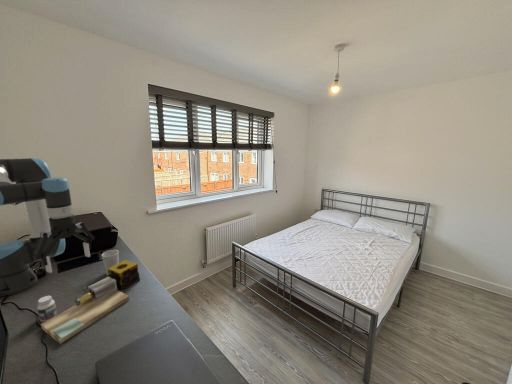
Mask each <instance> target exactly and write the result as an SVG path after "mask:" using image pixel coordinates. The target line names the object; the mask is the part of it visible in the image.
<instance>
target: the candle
mask: <svg viewBox="0 0 512 384" xmlns="http://www.w3.org/2000/svg"><path fill="white" fill-rule="evenodd" d="M107 276H108V277H111V278H113V279H115V280H116V285H117V290H118V291H125V290H126V289H128V288H129V287H131V286H132V285H134V284H136V283H138V282H139V281H140V280H141V278H140V273H139V264H138V263H136V262H132V261H129V260H128V259H124V260H123V261H121V262H120V261H119V263H118V264H116V265H114V266H112V267H110V268H108V275H107ZM137 281H138V282H137ZM135 282H136V283H135Z"/></svg>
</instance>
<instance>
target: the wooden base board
mask: <svg viewBox="0 0 512 384" xmlns="http://www.w3.org/2000/svg"><path fill="white" fill-rule="evenodd" d="M87 291H88V293H89V292H91V291H93V292H94V294H95V297H93V298H91V299H90V300H88V301H86V302H84V303H82V304H81V305H79V306H77V305H76V304H75V305H72V306H71V307H70V308H68V309H66V310H64V311H62V312H61V313H59V314H57V315H56V316H55V317H53V318H51V319H49V320H47V321H44V322H42V323H40V327H41V328H40V329H41V330H43V331H44V332H45V333H46V334H48V335H49V337H50V336H51V338H52V339H54V340H55V341H56V342H58V343H59V344H60V345H61V344H63V343H64V342H66V341H67V340H69V339H70V338H72V337H73V336H75V335H76V334H78V333H80V332H82V331H83V330H84V329H86V328H88V327H90V325H92V324H94V323H95V322H97V321H99V320H100V319H102V318H103V317H105V316H106V315H108V314H109V313H111V312H112V311H114V310H116V309H117V308H119V307H120V306H121V305H123V304H124V303H126V302H128V301H129V300H130V295H129V294H126V293H124V292H123V291H121V290H119V289H117V285H116V280H115V279H113V278H111V277H109V276H107V277H105V278H104V277H103V279H101V280H98V281H97V282H95V283H93V284H91V285H88V286H87Z"/></svg>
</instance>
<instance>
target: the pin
mask: <svg viewBox="0 0 512 384" xmlns="http://www.w3.org/2000/svg"><path fill="white" fill-rule="evenodd" d="M93 297H95V294H94V292H93V291H91V292H89V291H88V292H87V293H85V294H82V296H79V297H77V298H75V299H74V303H75V305H77V306H79V305H81V304H82V303H84V302H86V301H88V300H90V299H91V298H93Z"/></svg>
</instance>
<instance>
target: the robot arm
mask: <svg viewBox="0 0 512 384" xmlns="http://www.w3.org/2000/svg"><path fill="white" fill-rule="evenodd" d="M70 192H71V191H70V185H69V181H68V179H67V178H66V177H52V174H51V170H50V169H49V166H48V164H47V162H46V161H45V160H44V159H42V158H32V157H29V158H0V206H5V205H13V204H19V203H24V204H25V209H26V212H27V216H28V220H29V221H28V222H29V224H30V229H31V230H30V231H31V234H30V235H29V236H28V238H29V240H26V241H25V240H23V239H16V240H9V241H6V242H4V243H1V244H0V297H1V298H2V297H6V295H8V296H12V295H15V294H18V293H20V292H23V291H25V290H27V289H29V288H32V287H33V286H34V285H35V284H37V282H38V276H37V275H36V274H35V272H34V271H33V270H32V269H31V268H30V264H32V263H36V262H39V261H40V263H41V265H42V266H43V267H45V271H46V272H47V273H48V274H51V273H53V267H52V263H51V258H54V257H56V256H59V255H61V254H63V253H64V252H65V249H66V238H71V237H72V236H75V237H76V238H78V239H79V240H82V241H84V242H82V246H83V250H84V251H83V252H84V256H85V257H87V258H90V257H91V252H90V250H91V248H92V242H93V241H95V239H96V237H95V236H94V235H93V233H91V232H90V230H89V229H87V227H86V224H85V223H84V222H82V221H79V222H78V223H76V222H75V220H76V219H75V215H74V210H73V205H72V199H71V193H70ZM77 228H78V229H80V230H81V231H82V232H83V233H84V235H85V236H84V235H82V234H80V233H79V232H77Z"/></svg>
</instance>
